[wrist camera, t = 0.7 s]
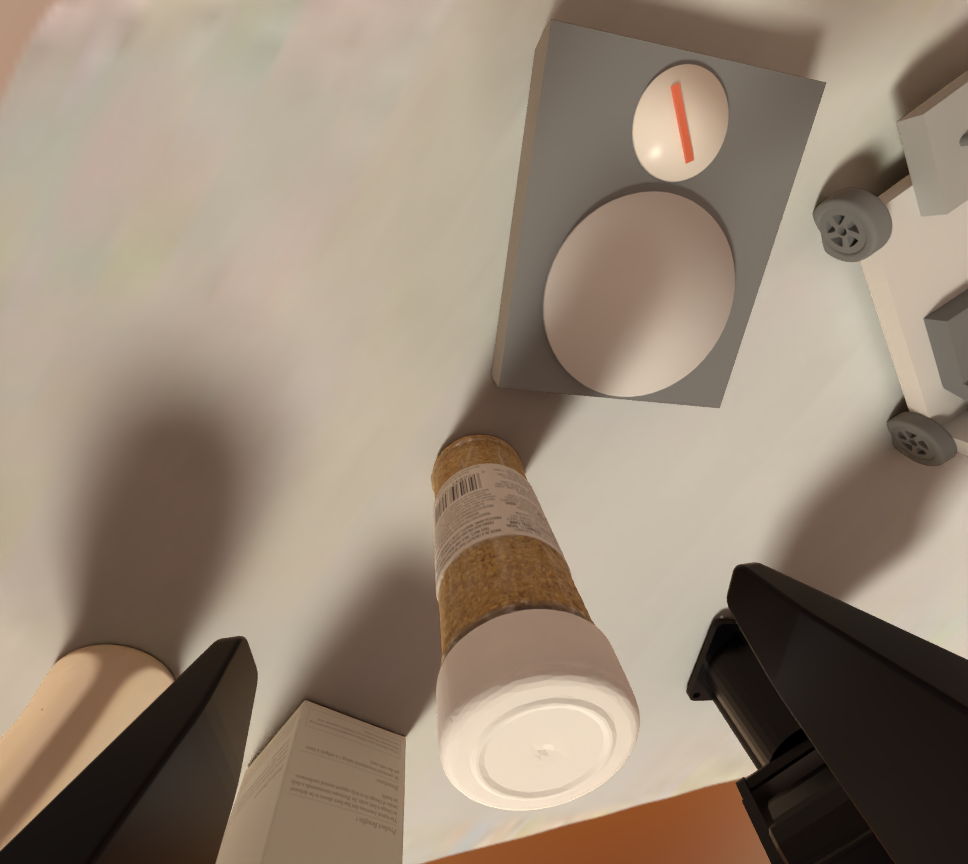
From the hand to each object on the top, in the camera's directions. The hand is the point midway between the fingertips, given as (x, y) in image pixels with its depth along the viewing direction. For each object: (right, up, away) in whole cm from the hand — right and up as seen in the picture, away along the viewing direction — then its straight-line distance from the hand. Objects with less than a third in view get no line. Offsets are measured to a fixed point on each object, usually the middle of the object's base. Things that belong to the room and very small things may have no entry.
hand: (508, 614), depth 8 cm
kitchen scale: (+6, +11, +11) cm, 16 cm away
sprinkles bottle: (-1, +1, +14) cm, 14 cm away
